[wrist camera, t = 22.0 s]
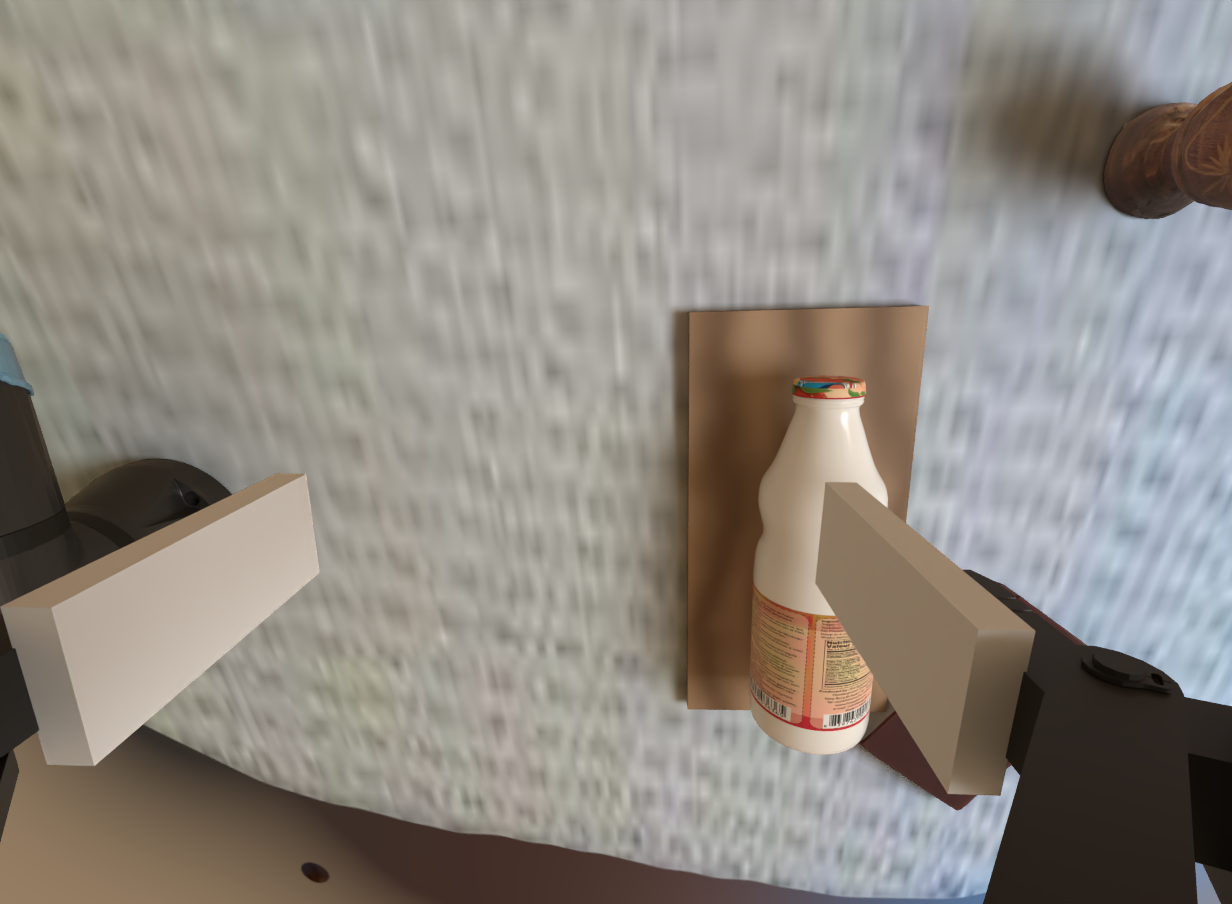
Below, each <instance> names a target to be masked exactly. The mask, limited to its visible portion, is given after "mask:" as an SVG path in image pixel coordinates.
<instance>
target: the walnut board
mask: <svg viewBox="0 0 1232 904" xmlns="http://www.w3.org/2000/svg"><path fill="white" fill-rule="evenodd" d="M928 311H929V306H898V307H861V308H824V309H787V310H749V311H712V312H689V357H688V579H687V706H688V709H708V710H751V709H750V702H749V679H750V653H751V627H752V601H753V569H754V559H755V552H756V547H757V544H758V541H759V539H760V537H761V536H762V533H763V522H762V518H761V514H760V510H759V504H758V495H759V487H760V483H761V480H762V478H763V476H764V474H765V472H766V471H767V470H768V468H769V467H770V466H771V464H772V463H773V461H774V459H775V457H776V455H777V453H778V451H779V448H780V446H781V444H782V441H783V439H784V437H785V434H786V432H787V429H788V427H789V424H790V422H791V420H792V418H793V415H794V413H795V409H796V404H795V403H794V402H793V400H792V398H793V394H792V387H793V382H794V380H795V379H796V378H800V377H806V376H846V377H854V378H859V379H862V380H864V381H865V384H866V395H865V398H864V403H863V404H862V405H861V406H860V408H859V412H860V417H861V421H862V424H863V427H864V431H865V434H866V438H867V442H868V445H869V449H870V452H871V455H872V458H873V461H874V464H875V467H876V469H877V471H878V473H879V475H880V477H881V478H882V480H883V482H884V484H885V486H886V489H887V495H888V509H889V510H891V511H892V512H893V513H894V514H895V515H897V516H898V517H899V518H900V519H901V520H903V521H904V522H905V523H906V516H907V507H908V498H909V488H910V479H911V470H912V460H913V451H914V442H915V432H916V423H917V414H918V404H919V395H920V386H921V376H922V367H923V358H924V348H925V339H926V330H927V320H928ZM886 703H887V696H886V695H885V693H884V692H883V690H882V688H881V687H880V685H879V684H878V682H877V681H876V679H875V677H874V676H873V682H872V692H871V702H870V712H886Z"/></svg>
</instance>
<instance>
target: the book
mask: <svg viewBox="0 0 1232 904" xmlns="http://www.w3.org/2000/svg"><path fill="white" fill-rule="evenodd" d="M998 584H1000V583H998ZM1000 585H1001V586H1002V587H1003V588H1005V589H1006V590H1007V591H1009V592H1010V593H1011V594H1012V595H1014V596H1015V597H1016V600H1020V601H1021V602H1023V603H1024V604H1025V605H1026V606H1028V607H1029V608H1030V609H1031V610H1032V613H1037V614H1038V615H1039V616H1040V617H1042V618H1043V619H1044V620H1046V621H1047V622H1048V623H1049V624H1051V625H1052V626H1053V627H1054V628H1056V629H1057V630H1058V631H1060V632H1061V633H1062V634H1063V635H1065V636H1066V637H1067V638H1068V639H1070V640H1071V641H1072V642H1074V643H1075V644H1076V645H1086V644H1084V643H1083V642H1082V641H1081V640H1079V639H1078V638H1077V637H1075V636H1074V635H1072V634H1071V633H1070V632H1068V631H1067V630H1066V629H1064V628H1063V627H1062V626H1060V625H1059V624H1057V623H1056V622H1054V621H1053V620H1052V619H1050V618H1049V617H1048V616H1046V615H1045V614H1044V613H1042V612H1041V611H1040V610H1038V609H1037V608H1035V607H1034V606H1033V605H1031V604H1030V603H1028V602H1027V601H1026V600H1025V599H1023V598H1022V597H1021V596H1019V595H1018V594H1016V593H1015V592H1013V591H1012V590H1010V589H1009V588H1008V587H1006V586H1005V585H1003V584H1000ZM1086 646H1087V645H1086ZM860 745H862V746H863V747H864V748H865V749H867V750H868V751H869V752H871V753H872V754H873V755H875V756H876V757H877V758H879V759H880V760H882V761H883V762H884V763H886V764H887V765H889V766H890V767H892V768H893V769H895V770H896V771H898V772H900V773H901V774H902V775H904V776H905V777H907V778H908V779H910V780H911V781H913V782H914V783H916V784H917V785H919V786H920V787H922V788H923V789H925V790H926V791H928V792H929V793H931V794H932V795H933V796H935V797H936V798H938V799H940V800H941V801H943V802H944V803H946V804H947V805H949V806H951V807H952V808H954V809H955V810H960V809H962V808H963V807H964V806H966V805H967V804H968V803H969V802H970V801H971V800H972V799H973V798H975V797H976V796H977V795H967V794H948V793H947V792H946V790H945V789H944V787H943V785H942V784H941V782H940V781H939V779H938V777H937V776H936V774H935V773H934V771H933V769H932V768H931V766H930V765H929V763H928V762H927V760H926V758H925V757H924V755H923V754H922V752H921V750H920V749H919V747H918V746H917V744H916V742H915V741H914V739H913V738H912V736H911V735H910V733H909V731H908V730H907V728H906V727H905V725H904V723H903V722H902V720H901V719H900V717H899V715H898V714H897V712H896V711H895V709H894V708H893V706H892V704H891V703H890V701H889V700H888V698H887V703H886V712H869V721H868V725H867V728H866V732H865V734H864V736H863V737H862V741H861V742H860ZM1009 766H1011V763H1010V762H1009V761H1008V762H1007V767H1006V769H1007V768H1008V767H1009Z"/></svg>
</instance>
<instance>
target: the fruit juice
mask: <svg viewBox="0 0 1232 904" xmlns="http://www.w3.org/2000/svg"><path fill="white" fill-rule="evenodd" d="M792 394H793V398H792V400H793V402H794V403H795V404H796V409H795V413H794V415H793V418H792V420H791V422H790V424H789V427H788V429H787V432H786V434H785V437H784V439H783V441H782V444H781V446H780V448H779V451H778V453H777V455H776V457H775V459H774V461H773V463H772V464H771V466H770V467H769V468H768V470H767V471H766V472H765V474H764V476H763V478H762V480H761V483H760V487H759V495H758V504H759V510H760V514H761V518H762V522H763V533H762V536H761V537H760V539H759V541H758V544H757V547H756V552H755V559H754V569H753V601H752V627H751V653H750V679H749V702H750V709H751V712H752V715H753V717H754V719H755V721H756V723H757V724H758V726H759V727H760V728H761V729H762V730H763V731H764V732H765V733H766V734H767V735H768V736H769V737H771V738H772V739H774V740H775V741H777V742H778V743H780V744H782V745H784V746H786V747H789V748H791V749H794V750H797V751H801V752H805V753H810V754H821V755H825V754H836V753H840V752H844V751H846V750H849V749H851V748H852V747H854V746H855V745H856V744H857V743H858V742H859V741H860V740H861V739H862V737H863V736H864V734H865V732H866V728H867V725H868V721H869V712H870V702H871V692H872V682H873V674H872V673H871V671H870V669H869V668H868V666H867V665H866V663H865V661H864V660H863V658H862V657H861V655H860V653H859V652H858V650H857V649H856V647H855V646H854V644H853V642H852V641H851V639H850V638H849V636H848V634H847V633H846V631H845V630H844V628H843V626H842V625H841V623H840V622H839V620H838V619H837V617H836V615H835V614H834V612H833V611H832V609H831V607H830V606H829V604H828V603H827V601H826V599H825V598H824V596H823V595H822V593H821V592H820V590H819V588H818V587H817V585H816V584H815V579H816V570H817V560H818V550H819V540H820V530H821V521H822V511H823V501H824V491H825V482H857V483H858V484H859V485H860V486H862V487H863V488H864V489H865V490H866V491H868V492H869V493H870V494H871V495H872V496H874V497H875V498H876V499H877V500H878V501H880V502H881V503H882V504H883V505H884V506H886V507H887V508H888V495H887V489H886V486H885V484H884V482H883V480H882V478H881V477H880V475H879V473H878V471H877V469H876V467H875V464H874V461H873V458H872V455H871V452H870V449H869V445H868V442H867V438H866V434H865V431H864V427H863V424H862V421H861V417H860V412H859V408H860V406H861V405H862V404H863V403H864V398H865V395H866V384H865V381H864V380H862V379H859V378H854V377H846V376H806V377H800V378H796V379H795V380H794V382H793V387H792Z"/></svg>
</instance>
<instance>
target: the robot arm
mask: <svg viewBox="0 0 1232 904" xmlns="http://www.w3.org/2000/svg"><path fill="white" fill-rule="evenodd" d="M33 395H34V391H33V388H32V386H31V385H30V384H29V383H27V382H26V381H25V378H24V375H23V373H22V370H21V367H20V365H19V362H18V360H17V357H16V354H15V352H14V349H13V347H12V345H11V343H10V342H9V340H8V339H7V338H6V337H5V336H4V335H3V334H2V333H0V841H1V837H2V834H3V830H4V826H5V822H6V818H7V814H8V811H9V807H10V803H11V800H12V796H13V792H14V788H15V784H16V780H17V777H18V773H19V768H18V764H17V760H16V757H15V754H14V751H13V749H14V748H15V747H16V746H18V745H19V744H21V743H22V742H23V741H25V740H26V739H28V738H29V737H30V736H32V735H33V734H35V733H36V732H38V736H39V739H40V742H41V746H42V749H43V753H44V756H45V759H46V762H47V764H48V765H79V766H95V765H96V764H97V763H98V762H99V761H101V760H102V759H103V758H104V757H105V756H107V755H108V754H109V753H110V752H111V751H112V750H114V748H116V747H117V746H118V745H119V744H120V743H122V742H123V741H124V740H125V739H126V738H127V737H129V736H130V735H131V734H132V733H133V732H135V731H136V730H137V729H138V728H139V727H140V726H141V725H143V724H144V723H145V722H146V721H147V720H148V719H150V718H151V717H152V716H153V715H154V714H155V713H157V712H158V711H159V710H160V709H161V708H162V707H164V706H165V705H166V704H167V703H168V702H169V701H171V700H172V699H173V698H174V697H175V696H176V695H178V694H179V693H180V692H181V691H182V690H183V689H185V688H186V687H187V686H188V685H189V684H190V683H192V682H193V681H194V680H195V679H196V678H197V677H199V676H200V675H201V674H202V673H203V672H204V671H206V670H207V669H208V668H209V667H210V666H211V665H213V664H214V663H215V662H216V661H217V660H218V659H220V658H221V657H222V656H223V655H224V654H225V653H227V652H228V651H229V650H230V649H231V648H232V647H234V646H235V645H236V644H237V643H238V642H239V641H241V640H242V639H243V638H244V637H245V636H246V635H247V634H249V633H250V632H251V631H252V630H253V629H254V628H256V627H257V626H258V625H259V624H260V623H261V622H263V621H264V620H265V619H266V618H267V617H268V616H270V615H271V614H272V613H273V612H274V611H275V610H277V609H278V608H279V607H280V606H281V605H282V604H284V603H285V602H286V601H287V600H288V599H289V598H291V597H292V596H293V595H294V594H295V593H296V592H298V591H299V590H300V589H301V588H302V587H303V586H305V585H306V584H307V583H308V582H309V581H310V580H312V579H313V578H314V577H315V576H316V575H317V574H319V573H320V572H319V564H318V557H317V550H316V543H315V535H314V528H313V521H312V513H311V506H310V499H309V492H308V484H307V477H306V474H275V475H273V476H271V477H268V478H266V479H264V480H262V481H260V482H258V483H256V484H254V485H252V486H250V487H248V488H246V489H244V490H241V491H239V492H237V493H235V494H233V495H232V494H231V493H230V492H229V491H228V490H227V489H226V488H225V487H224V486H223V485H222V484H221V483H219V482H218V481H217V480H216V479H214V478H213V477H211V476H210V475H208V474H207V473H205V472H203V471H201V470H199V469H197V468H195V467H193V466H190V465H188V464H185V463H181V462H177V461H173V460H166V459H149V460H143V461H138V462H135V463H132V464H129V465H126V466H122V467H119V468H116V469H114V470H111V471H109V472H107V473H105V474H103V475H101V476H100V477H98V478H97V479H95V480H94V481H93V482H92V483H90V484H89V485H88V486H87V487H85V488H84V489H83V490H81V491H80V492H79V493H78V494H76V495H75V496H74V497H73V498H71V499H70V500H69V501H68V502H66V503H64V500H63V497H62V494H61V491H60V488H59V485H58V481H57V478H56V475H55V472H54V469H53V466H52V462H51V459H50V456H49V453H48V450H47V447H46V444H45V440H44V437H43V434H42V431H41V428H40V425H39V422H38V418H37V415H36V412H35V409H34V406H33V403H32V400H31V396H33ZM815 584H816V585H817V587H818V588H819V590H820V592H821V593H822V595H823V596H824V598H825V599H826V601H827V603H828V604H829V606H830V607H831V609H832V611H833V612H834V614H835V615H836V617H837V619H838V620H839V622H840V623H841V625H842V626H843V628H844V630H845V631H846V633H847V634H848V636H849V638H850V639H851V641H852V642H853V644H854V646H855V647H856V649H857V650H858V652H859V653H860V655H861V657H862V658H863V660H864V661H865V663H866V665H867V666H868V668H869V669H870V671H871V673H872V674H873V676H874V677H875V679H876V681H877V682H878V684H879V685H880V687H881V688H882V690H883V692H884V693H885V695H886V696H887V698H888V700H889V701H890V703H891V704H892V706H893V708H894V709H895V711H896V712H897V714H898V715H899V717H900V719H901V720H902V722H903V723H904V725H905V727H906V728H907V730H908V731H909V733H910V735H911V736H912V738H913V739H914V741H915V742H916V744H917V746H918V747H919V749H920V750H921V752H922V754H923V755H924V757H925V758H926V760H927V762H928V763H929V765H930V766H931V768H932V769H933V771H934V773H935V774H936V776H937V777H938V779H939V781H940V782H941V784H942V785H943V787H944V789H945V790H946V792H947V793H948V794H967V795H997V796H1000V795H1001V790H1002V785H1003V781H1004V776H1005V771H1006V767H1007V762H1008V761H1009V762H1010V763H1011V765H1012V766H1013V767H1014V768H1015V770H1016V771H1017V772H1018V773H1019V775H1020V779H1019V782H1018V786H1017V789H1016V793H1015V796H1014V799H1013V803H1012V806H1011V810H1010V813H1009V817H1008V820H1007V823H1006V827H1005V830H1004V834H1003V837H1002V841H1001V844H1000V847H999V851H998V854H997V858H996V861H995V865H994V868H993V872H992V875H991V878H990V882H989V885H988V889H987V892H986V896H985V899H984V902H983V904H1198V903H1197V889H1196V888H1197V887H1196V873H1195V862H1197V863H1201V864H1203V866H1204V868H1205V870H1206V872H1207V874H1208V877H1209V879H1210V881H1211V883H1212V885H1213V887H1214V889H1215V891H1216V894H1217V896H1218V898H1219V900H1220V902H1221V904H1232V706H1227V705H1222V704H1217V703H1212V702H1207V701H1201V700H1196V699H1191V698H1186V697H1184V694H1183V692H1182V690H1181V689H1180V687H1179V685H1178V683H1176V682H1175V681H1174V680H1173V679H1171V678H1170V677H1169V676H1168V675H1167V674H1165V673H1164V672H1163V671H1161V670H1159V669H1157V668H1155V667H1153V666H1152V665H1150V664H1148V663H1146V662H1144V661H1142V660H1139V659H1137V658H1134V657H1131V656H1129V655H1126V654H1123V653H1121V652H1118V651H1114V650H1109V649H1105V648H1101V647H1097V646H1086V645H1076V644H1075V643H1074V642H1072V641H1071V640H1070V639H1068V638H1067V637H1066V636H1065V635H1063V634H1062V633H1061V632H1060V631H1058V630H1057V629H1056V628H1054V627H1053V626H1052V625H1051V624H1049V623H1048V622H1047V621H1046V620H1044V619H1043V618H1042V617H1040V616H1039V615H1038V614H1037V613H1032V610H1031V609H1030V608H1029V607H1028V606H1026V605H1025V604H1024V603H1023V602H1021V601H1020V600H1016V597H1015V596H1014V595H1012V594H1011V593H1010V592H1009V591H1007V590H1006V589H1005V588H1003V587H1002V586H1001V585H1000V584H998V583H997V582H995V581H993V580H991V579H989V578H986V577H984V576H982V575H980V574H978V573H976V572H974V571H972V570H962V569H960V568H959V567H958V566H957V565H956V564H954V563H953V562H952V561H951V560H950V559H948V558H947V557H946V556H945V555H944V554H942V553H941V552H940V551H939V550H937V549H936V548H935V547H934V546H933V545H931V544H930V543H929V542H928V541H927V540H925V539H924V538H923V537H922V536H921V535H919V534H918V533H917V532H916V531H915V530H913V529H912V528H911V527H910V526H909V525H907V524H906V523H905V522H904V521H903V520H901V519H900V518H899V517H898V516H897V515H895V514H894V513H893V512H892V511H891V510H889V509H888V508H887V507H886V506H884V505H883V504H882V503H881V502H880V501H878V500H877V499H876V498H875V497H874V496H872V495H871V494H870V493H869V492H868V491H866V490H865V489H864V488H863V487H862V486H860V485H859V484H858V483H857V482H825V491H824V501H823V511H822V521H821V530H820V540H819V550H818V560H817V570H816V579H815Z"/></svg>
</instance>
